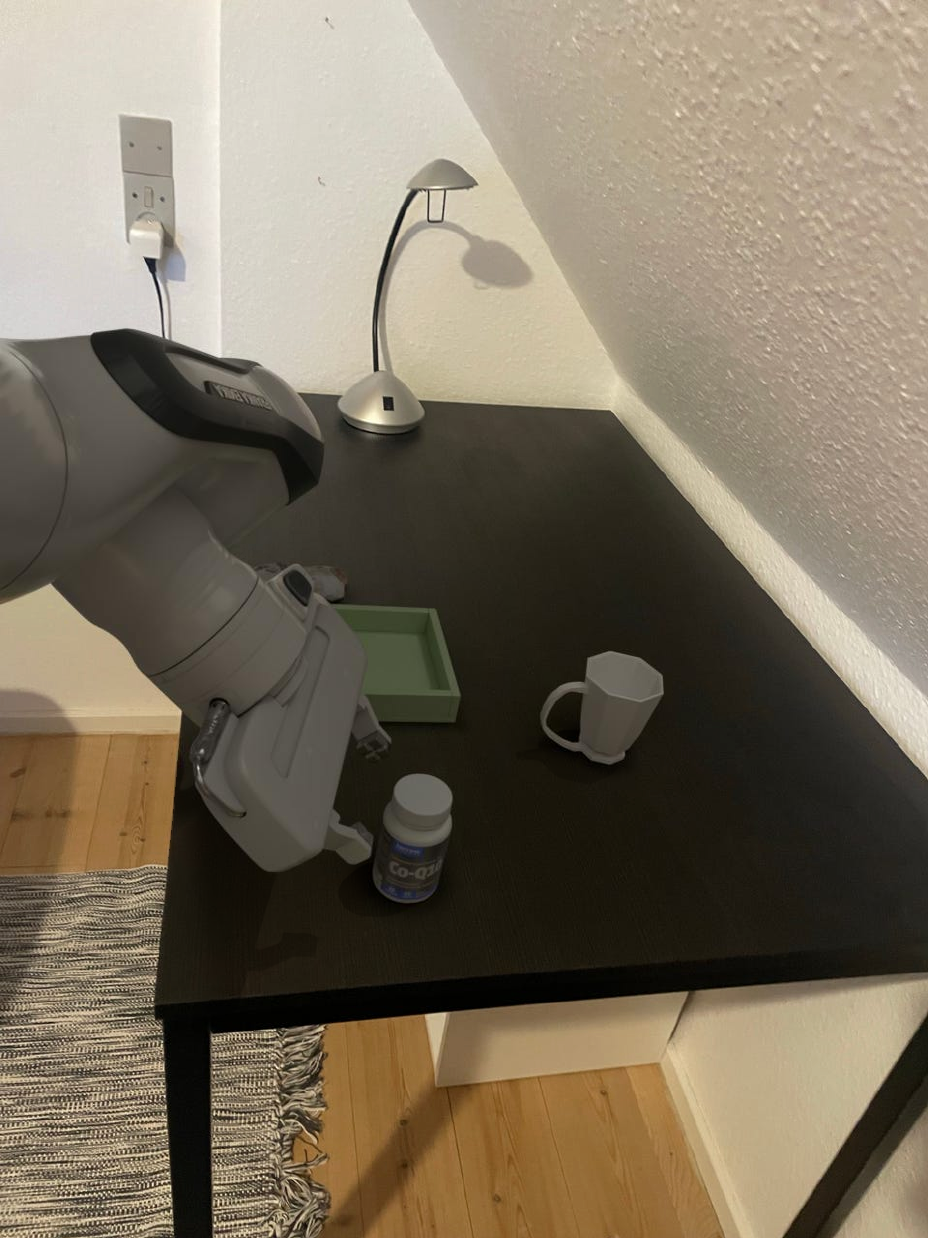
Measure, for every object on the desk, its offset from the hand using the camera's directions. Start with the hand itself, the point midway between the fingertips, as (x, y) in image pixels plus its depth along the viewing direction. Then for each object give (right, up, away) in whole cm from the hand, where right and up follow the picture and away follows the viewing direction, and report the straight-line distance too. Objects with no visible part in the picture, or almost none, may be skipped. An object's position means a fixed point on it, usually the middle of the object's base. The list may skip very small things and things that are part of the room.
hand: (374, 800), depth 63 cm
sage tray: (-3, +7, +24) cm, 25 cm away
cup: (+17, +1, +20) cm, 26 cm away
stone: (-11, +14, +33) cm, 37 cm away
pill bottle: (+2, -7, +4) cm, 8 cm away
